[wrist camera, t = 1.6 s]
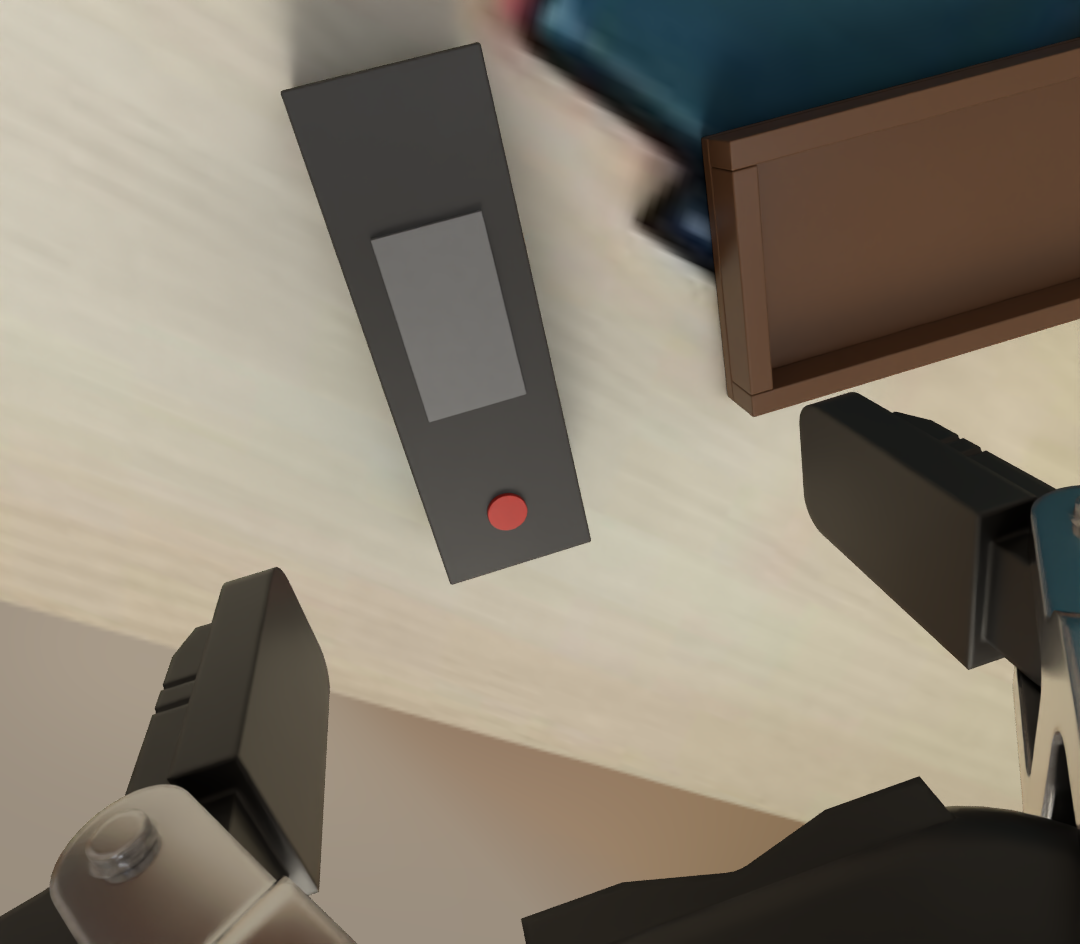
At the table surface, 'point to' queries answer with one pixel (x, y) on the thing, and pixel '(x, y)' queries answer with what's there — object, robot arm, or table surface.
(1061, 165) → the tray
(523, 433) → the remote
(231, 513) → the table surface
